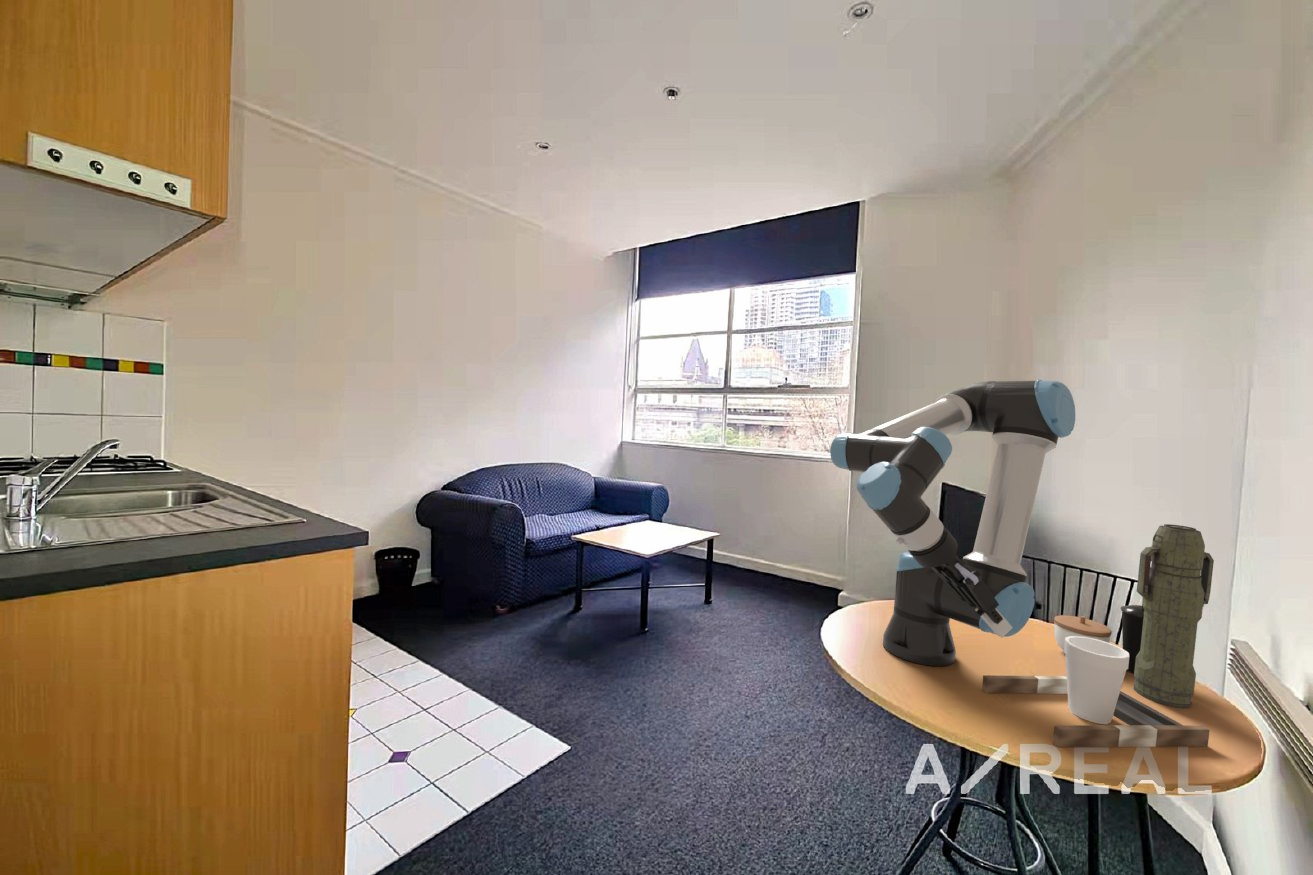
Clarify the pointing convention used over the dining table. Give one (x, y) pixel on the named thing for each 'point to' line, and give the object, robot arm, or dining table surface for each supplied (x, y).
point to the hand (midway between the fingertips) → (1004, 631)
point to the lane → (1141, 731)
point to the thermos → (1171, 613)
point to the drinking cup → (1132, 632)
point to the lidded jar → (1079, 629)
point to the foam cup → (1094, 677)
